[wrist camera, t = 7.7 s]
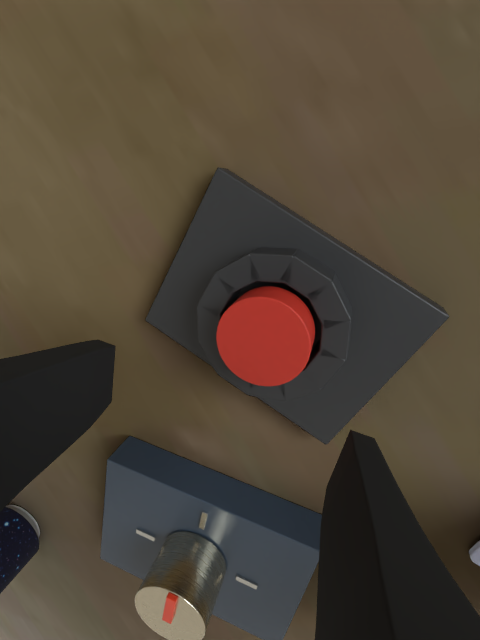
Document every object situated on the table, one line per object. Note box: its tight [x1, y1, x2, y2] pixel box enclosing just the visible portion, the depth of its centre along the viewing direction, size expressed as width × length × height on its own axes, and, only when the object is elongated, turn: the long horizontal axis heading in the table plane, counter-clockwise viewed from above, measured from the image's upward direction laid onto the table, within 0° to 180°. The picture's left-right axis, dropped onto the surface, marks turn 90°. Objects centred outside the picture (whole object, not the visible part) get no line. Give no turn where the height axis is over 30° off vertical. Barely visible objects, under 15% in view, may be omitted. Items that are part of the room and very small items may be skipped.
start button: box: [216, 286, 315, 386], centre depth 15 cm, size 4×4×2 cm
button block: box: [145, 168, 449, 444], centre depth 17 cm, size 12×9×3 cm
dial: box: [135, 531, 226, 640], centre depth 21 cm, size 4×4×4 cm
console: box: [100, 436, 322, 640], centre depth 24 cm, size 14×10×3 cm
